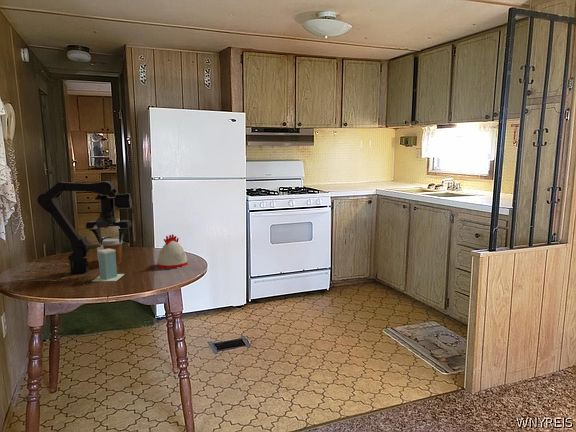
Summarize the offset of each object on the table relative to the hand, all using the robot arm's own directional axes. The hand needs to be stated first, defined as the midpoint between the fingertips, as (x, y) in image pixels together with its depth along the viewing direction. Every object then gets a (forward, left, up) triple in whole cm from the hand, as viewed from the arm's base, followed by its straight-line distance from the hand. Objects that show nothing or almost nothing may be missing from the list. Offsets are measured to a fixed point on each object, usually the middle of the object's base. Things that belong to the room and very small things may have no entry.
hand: (110, 242), depth 193 cm
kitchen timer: (+26, +8, -13) cm, 30 cm away
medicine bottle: (-9, +19, -13) cm, 25 cm away
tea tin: (+3, -12, -13) cm, 18 cm away
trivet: (+3, -12, -13) cm, 18 cm away
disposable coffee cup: (-4, +13, -13) cm, 19 cm away
